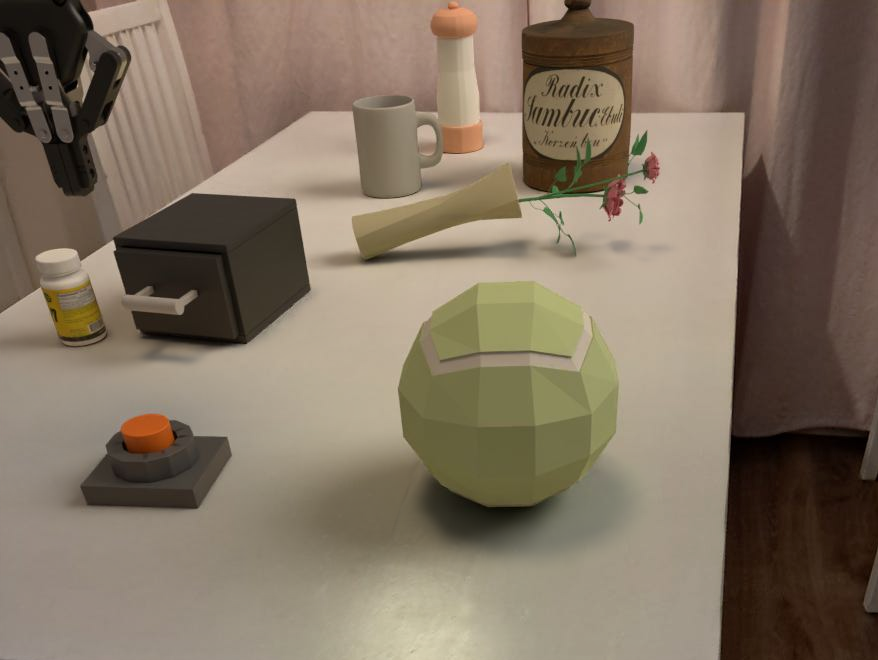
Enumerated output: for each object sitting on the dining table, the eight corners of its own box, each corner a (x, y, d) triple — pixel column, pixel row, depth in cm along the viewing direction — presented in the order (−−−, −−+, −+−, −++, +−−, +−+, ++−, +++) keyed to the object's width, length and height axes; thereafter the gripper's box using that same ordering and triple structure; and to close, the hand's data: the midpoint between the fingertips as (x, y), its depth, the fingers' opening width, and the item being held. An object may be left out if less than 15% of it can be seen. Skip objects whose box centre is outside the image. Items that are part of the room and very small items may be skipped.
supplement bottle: (59, 333, 97) (30, 251, 91) (106, 325, 98) (79, 243, 92) (61, 350, 93) (31, 266, 88) (109, 342, 94) (82, 258, 89)
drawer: (212, 357, 88) (191, 275, 83) (112, 346, 91) (86, 266, 86) (295, 289, 101) (282, 213, 96) (204, 281, 104) (187, 208, 99)
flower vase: (388, 309, 117) (661, 229, 112) (374, 317, 106) (676, 229, 101) (358, 210, 112) (641, 122, 107) (340, 208, 101) (655, 110, 96)
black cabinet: (247, 343, 93) (225, 245, 86) (140, 332, 96) (112, 237, 90) (311, 289, 103) (295, 198, 97) (212, 281, 106) (191, 192, 100)
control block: (86, 505, 71) (71, 465, 69) (129, 452, 77) (116, 414, 75) (198, 508, 70) (186, 468, 68) (232, 454, 76) (222, 416, 74)
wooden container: (515, 193, 126) (512, 0, 112) (530, 164, 137) (529, -16, 123) (624, 194, 124) (635, -4, 110) (630, 164, 135) (641, -20, 120)
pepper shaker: (428, 148, 147) (417, 3, 134) (462, 139, 150) (455, -4, 138) (458, 155, 142) (450, 7, 130) (492, 146, 146) (488, 0, 133)
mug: (359, 199, 128) (348, 110, 120) (364, 182, 134) (354, 96, 127) (445, 195, 127) (439, 105, 120) (447, 178, 134) (441, 91, 126)
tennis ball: (603, 437, 75) (613, 248, 65) (617, 545, 64) (631, 336, 54) (421, 441, 76) (403, 255, 66) (403, 548, 65) (378, 343, 55)
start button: (119, 456, 70) (112, 435, 69) (138, 433, 73) (131, 412, 72) (164, 457, 70) (158, 436, 69) (181, 434, 73) (175, 413, 71)
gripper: (-139, -90, 56) (-26, 208, 68) (63, -96, 55) (143, 210, 67) (-70, -100, 62) (23, 178, 74) (116, -106, 60) (181, 179, 72)
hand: (80, 193), depth 70 cm, fingers closed
